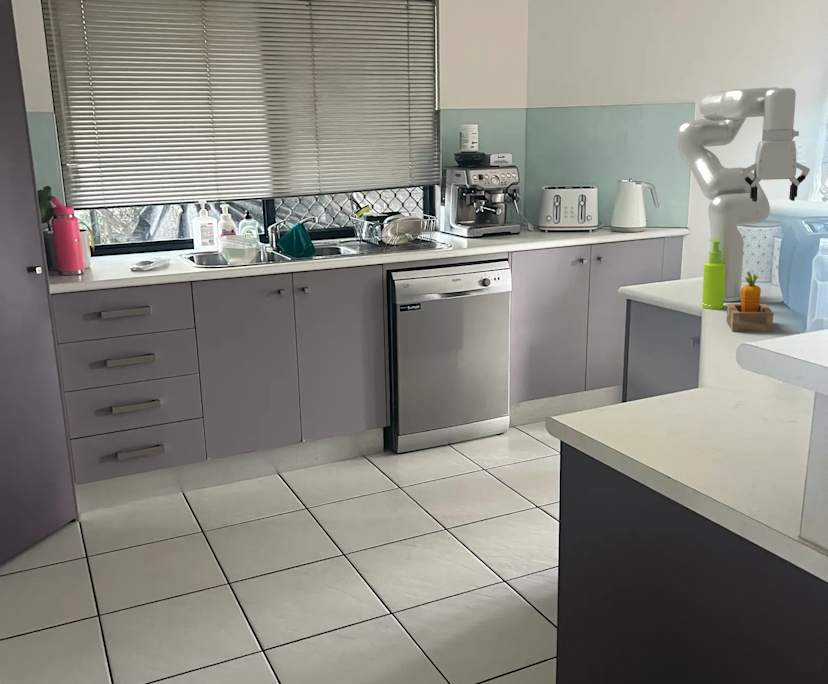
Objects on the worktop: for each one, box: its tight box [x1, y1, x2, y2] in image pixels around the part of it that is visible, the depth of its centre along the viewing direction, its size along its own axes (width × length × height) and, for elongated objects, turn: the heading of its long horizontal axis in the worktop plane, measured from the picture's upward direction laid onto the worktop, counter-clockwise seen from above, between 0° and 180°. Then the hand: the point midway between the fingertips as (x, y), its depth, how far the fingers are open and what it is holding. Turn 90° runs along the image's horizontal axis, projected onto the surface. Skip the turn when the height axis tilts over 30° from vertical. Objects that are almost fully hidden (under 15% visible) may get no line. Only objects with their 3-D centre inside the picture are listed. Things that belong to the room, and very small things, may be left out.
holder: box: [726, 303, 774, 332], centre depth 227 cm, size 10×10×5 cm
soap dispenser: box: [701, 238, 725, 310], centre depth 246 cm, size 6×7×20 cm
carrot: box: [740, 271, 762, 312], centre depth 225 cm, size 5×5×15 cm
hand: (773, 200), depth 228 cm, fingers open, 9 cm apart
